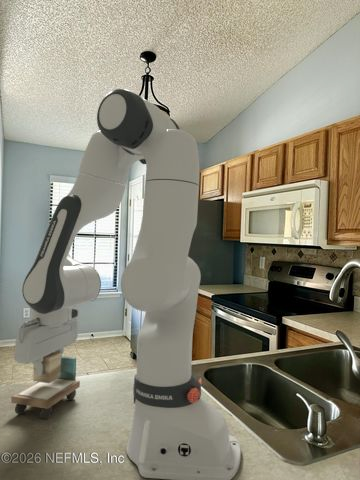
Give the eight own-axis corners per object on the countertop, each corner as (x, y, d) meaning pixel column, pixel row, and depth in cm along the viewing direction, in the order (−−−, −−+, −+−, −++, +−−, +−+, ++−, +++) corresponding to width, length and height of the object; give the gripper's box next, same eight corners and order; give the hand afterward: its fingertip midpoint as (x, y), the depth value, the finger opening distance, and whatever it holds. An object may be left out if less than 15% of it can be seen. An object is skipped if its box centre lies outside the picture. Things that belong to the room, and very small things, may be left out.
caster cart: (81, 395, 90) (82, 358, 90) (47, 421, 76) (48, 377, 76) (49, 391, 92) (50, 354, 93) (10, 415, 79) (12, 372, 79)
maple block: (60, 376, 86) (61, 352, 86) (48, 383, 81) (49, 358, 81) (45, 374, 87) (46, 351, 87) (33, 380, 82) (34, 356, 83)
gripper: (31, 324, 74) (29, 388, 73) (82, 309, 93) (81, 359, 93) (8, 322, 75) (5, 384, 75) (63, 307, 95) (61, 356, 95)
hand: (47, 370), depth 84 cm, fingers closed on maple block, 4 cm apart
